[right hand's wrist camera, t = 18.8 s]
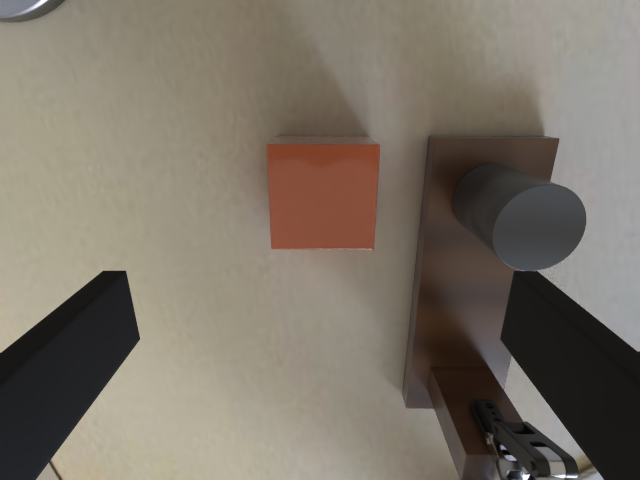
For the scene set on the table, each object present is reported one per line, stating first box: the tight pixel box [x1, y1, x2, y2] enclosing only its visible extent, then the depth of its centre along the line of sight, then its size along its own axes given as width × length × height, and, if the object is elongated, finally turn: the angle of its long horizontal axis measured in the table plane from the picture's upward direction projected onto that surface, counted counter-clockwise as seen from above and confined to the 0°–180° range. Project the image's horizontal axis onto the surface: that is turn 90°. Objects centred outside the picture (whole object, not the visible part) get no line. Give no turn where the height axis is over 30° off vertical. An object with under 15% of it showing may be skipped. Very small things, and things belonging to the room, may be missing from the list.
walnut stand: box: [403, 136, 586, 480], centre depth 31 cm, size 28×10×12 cm, turn 0°
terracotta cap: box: [267, 136, 380, 249], centre depth 30 cm, size 8×8×6 cm
